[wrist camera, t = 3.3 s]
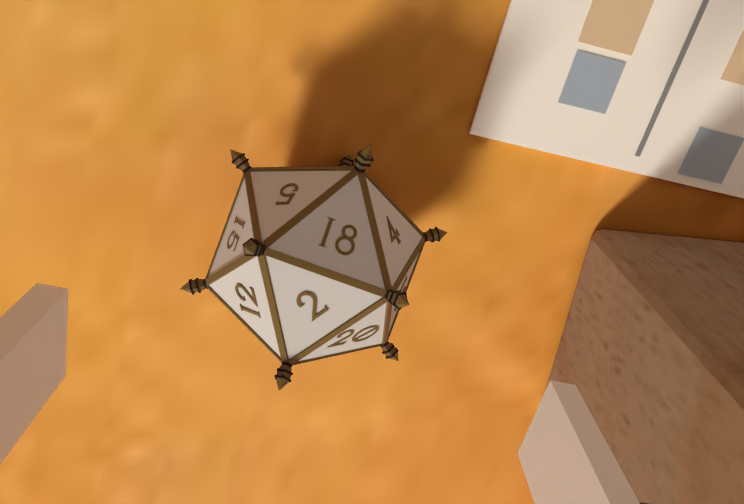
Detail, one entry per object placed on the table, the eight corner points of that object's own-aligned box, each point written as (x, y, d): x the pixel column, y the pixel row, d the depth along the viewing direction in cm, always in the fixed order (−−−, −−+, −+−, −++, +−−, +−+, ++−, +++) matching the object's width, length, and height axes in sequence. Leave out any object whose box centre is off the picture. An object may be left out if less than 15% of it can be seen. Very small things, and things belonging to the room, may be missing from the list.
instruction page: (559, -156, 20) (561, -157, 20) (917, -46, 22) (923, -46, 21) (469, 132, 24) (470, 134, 24) (775, 205, 26) (779, 207, 25)
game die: (361, 168, 28) (534, 214, 21) (299, 334, 29) (448, 436, 21) (192, 90, 22) (352, 116, 15) (117, 301, 23) (236, 429, 15)
